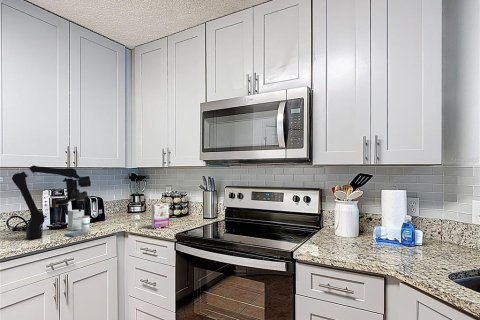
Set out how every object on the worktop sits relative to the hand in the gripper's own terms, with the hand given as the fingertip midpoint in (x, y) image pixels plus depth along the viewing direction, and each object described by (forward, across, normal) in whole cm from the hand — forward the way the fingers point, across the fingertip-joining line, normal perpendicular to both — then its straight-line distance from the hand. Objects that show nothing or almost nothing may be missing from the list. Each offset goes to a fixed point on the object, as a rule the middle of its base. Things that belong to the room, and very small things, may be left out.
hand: (73, 213), depth 170 cm
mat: (+13, -2, -4) cm, 14 cm away
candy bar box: (+17, +32, -40) cm, 54 cm away
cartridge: (+13, +7, 0) cm, 15 cm away
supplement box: (+13, +10, +11) cm, 20 cm away
